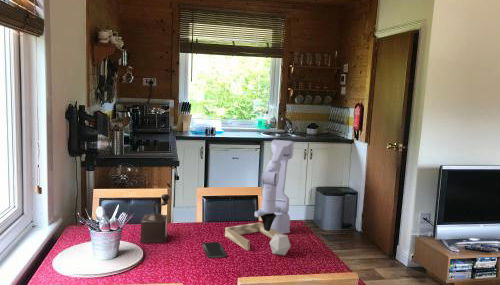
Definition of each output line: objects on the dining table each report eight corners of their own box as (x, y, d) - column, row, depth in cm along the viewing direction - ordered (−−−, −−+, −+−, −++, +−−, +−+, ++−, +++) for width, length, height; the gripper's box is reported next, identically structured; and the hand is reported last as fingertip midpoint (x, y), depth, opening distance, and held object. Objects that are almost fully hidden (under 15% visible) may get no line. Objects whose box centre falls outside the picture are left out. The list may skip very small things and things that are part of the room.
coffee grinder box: (166, 243, 173) (167, 202, 171) (139, 243, 172) (140, 201, 170) (169, 231, 188) (170, 193, 186) (144, 230, 187) (145, 192, 185)
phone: (207, 256, 160) (201, 242, 174) (207, 259, 160) (201, 245, 174) (227, 255, 162) (219, 241, 176) (227, 258, 162) (219, 244, 176)
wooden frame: (259, 230, 196) (259, 222, 196) (283, 243, 180) (284, 234, 180) (224, 236, 186) (225, 227, 185) (247, 250, 170) (247, 241, 169)
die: (292, 253, 172) (282, 231, 175) (295, 250, 164) (285, 227, 167) (274, 260, 170) (265, 239, 173) (277, 258, 162) (267, 235, 165)
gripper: (273, 194, 180) (271, 224, 182) (250, 199, 170) (248, 231, 172) (285, 198, 175) (283, 228, 177) (262, 203, 165) (260, 235, 167)
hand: (267, 230), depth 174 cm, fingers closed
